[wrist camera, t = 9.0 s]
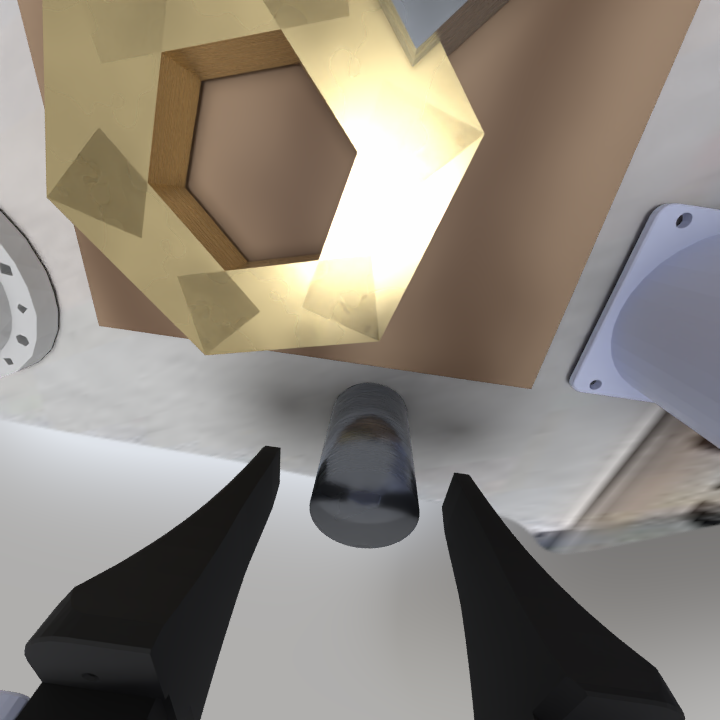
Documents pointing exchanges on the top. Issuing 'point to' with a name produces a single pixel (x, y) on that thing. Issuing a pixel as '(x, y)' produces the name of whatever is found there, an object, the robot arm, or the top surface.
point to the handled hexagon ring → (174, 138)
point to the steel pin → (366, 471)
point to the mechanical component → (23, 303)
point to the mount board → (472, 197)
